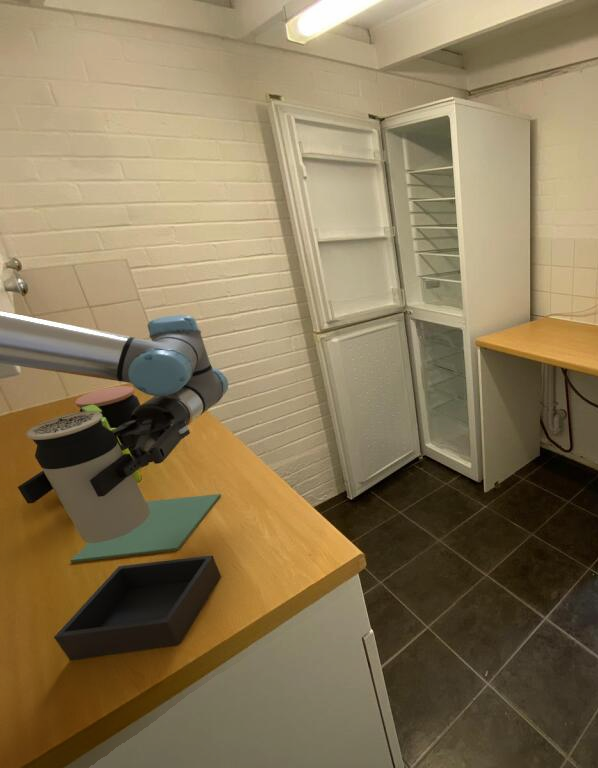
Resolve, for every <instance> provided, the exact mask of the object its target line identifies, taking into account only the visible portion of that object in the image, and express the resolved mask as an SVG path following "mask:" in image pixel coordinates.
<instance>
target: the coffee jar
mask: <svg viewBox="0 0 598 768" xmlns="http://www.w3.org/2000/svg"><path fill="white" fill-rule="evenodd" d="M74 403H75V405H76V406H77V407H78V408H80V409H79V412H84V411H83V410H82V407H85V406H89V405H92V404H93V405H95V406H97V407H98V408H99V409H101V410H102V412H101V414H102V417H105V418H106V419H107V422H108V424H109V426H110V428H118V427H119V426H121V425H123V424H124V423H127V422H129V421H130V418H131V415H132V413H133V411H134V410H135V409H136V408H137V407H138V406H140V405H141V403H140V401H139V398H138V396H136V395H135V389H134V388H133V387H132V386H128V385H120V386H119V385H117V386H112V387H107V388H103V389H98V390H94V391H92V392H88V393H86V394H83V395H82V396H81V395H80V397H78V398H77V399H75V401H74ZM135 446H136V445H133V446H131V447H129V448H128V449H129V451H130V453H131V455H132V457H133V456H134V455H133V453H132V451H131V448H132V449H133V448H135Z"/></svg>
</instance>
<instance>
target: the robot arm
mask: <svg viewBox="0 0 598 768" xmlns="http://www.w3.org/2000/svg"><path fill="white" fill-rule="evenodd" d="M147 329H148V330H147V331H148V333H149V335H148V336H149V338H150V339H151V340H149V339H145V338H144V339H143V338H139V337H133V336H130V335H124V334H120V333H114V332H109V331H104V330H99V329H94V328H88V327H84V326H79V325H74V324H69V323H63V322H59V321H54V320H48V319H44V318H38V317H34V316H29V315H22V314H19V313H18V314H17V313H13V312H8V311H3V310H0V364H4V365H9V366H16V367H24V368H29V369H35V370H42V371H49V372H54V373H55V372H56V373H63V374H70V375H75V376H83V377H88V378H94V379H102V380H103V379H104V380H110V381H115V382H116V381H117V382H122V383H127V384H131V385H132V386H133V387H134V388H135V389H137V390H138V391H140V392H142V393H144V394H146V395H149V396H153V397H151V398H149V399H148V400H146V401H145V402H143V403H142V404H140V406H138V407H137V408H136V409H135V410H134V411H133V413H132V415H131V418H130V421H129V422H127V423H124V424H123V425H121V426H119V427H118V428H116V429H113V430H111V431H112V432H113V434H114V436H115V438H116V440H117V442H118V444H119V446H120V448H121V450H122V451H123V450H125V449H127V448H129V447H131V446H133V445H136V446H135V448H133V449H132V448H131V451H132V453H133V455H134V456H133V457H131V455H130V454H124V455H123V456H121V457H120V458H119V459H117V460H116V461H115V462H113V463H112V464H111V465H109V466H108V467H107V468H105V469H104V470H103V471H101V472H100V473H99V474H97V475H96V476H95V477H93V478H92V479H91V480H90V482H91V484H92V486H93V488H94V490H95V492H96V494H97V496H98V497H101V496H105V495H106V494H107V493H108V492H110V491H111V490H112V489H113V488H115V487H116V486H117V485H118V484H119V483H121V482H122V481H123V480H124V479H125V478H127V477H128V476H130V475H132V474H133V473H134V472H135V471H137V470H138V471H139V469H140V468H144V467H146V466H147V467H148V465H149V464H150V463H153V464H155V465H156V464H157V465H158V464H161V463H163V462H165V460H166V459H167V458H168V456H169V455H170V454H171V453H172V451H173V450H174V449H175V448H176V447H177V446H178V444H180V442H181V441H182V440H183V439H184V438H185V437H188V436H189V435H191V431H190V428H189V426H190V425H191V424H192V423H193V422H194V421H196V419H198V418H199V417H200V416H202V415H203V414H204V413H205V412H206V411H208V410H209V409H211V408H212V407H213V406H215V405H216V404H217V403H219V401H221V400H222V398H223V397H224V396H225V395H226V393H227V392H228V390H229V381H228V379H227V377H226V375H224V373H222V371H221V370H219V369H217V368H216V367H213V366H212V363H211V361H210V357H209V355H208V352H207V349H206V346H205V343H204V340H203V337H202V331H201V329H200V328H199V325H198V323H197V321H196V319H195V318H194V317H193V316H191V315H188V314H177V315H168V316H162V317H158V318H154V319H152V320H150V321H148V322H147ZM104 427H106V426H104ZM106 428H107V427H106ZM117 437H118V438H117ZM118 439H119V441H120V443H121V444H122V445H120V443H119V441H118ZM17 489H18V491H19V492H20V494H21V495H22V497H23V499H24V500H25V502H26V503H27V504H35V503H36V502H38V501H39V500H40V499H42V498H43V497H44V496H46V495H48V493H50V492H51V491H54V489H53V487H52V485H51V484H50V482H49V480H48V478H47V477H46V475H45V473H44V471H43V470H42V471H40V472H39V473H37V474H35V475H34V476H32V477H30V478H29V479H27V480H26V481H25V482H23V483H21V484H19V485H18V486H17Z"/></svg>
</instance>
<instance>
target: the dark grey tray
mask: <svg viewBox="0 0 598 768" xmlns="http://www.w3.org/2000/svg"><path fill="white" fill-rule="evenodd" d="M221 578H222V574H221V572H220V569H219V567H218V564H217V563H216V560H215V557H214V555H213V554H210V555H203V556H201V555H200V556H195V557H194V556H193V557H185V558H176V559H169V560H160V561H152V562H144V563H143V562H142V563H133V564H127V565H126V564H125V565H119V566H117V568H115V570H114V571H112V573H111V574H110V575H109V577H107V579H106V580H105V581H104V582H103V583H102V584H101V585H100V586H99V587H98V589H97V590H96V591H95V592H94V593H93V594H92V595H91V596H90V597H89V598H88V599H87V601H86V602H85V603H84V604H82V606H81V607H80V608H79V609H78V610H77V611H76V612H75V613H74V615H73V616H71V618H70V619H69V620H68V621H67V622H66V623H65V624H64V626H63V627H61V629H60V630H59V631H58V632H57V633H56V634H55V635H54V636H53V638H54V640H55V641H56V642H57V644H58V645H59V647H60V648H61V650H62V652H63V653H64V654H65V656H66V657H67V658H68V660H69V661H76V660H84V659H89V658H90V659H91V658H98V657H103V656H104V657H105V656H112V655H118V654H125V653H131V652H141V651H146V650H153V649H161V648H167V647H176V646H180V644H182V641H183V640H184V638H185V636H186V635H187V633H188V632H189V630H190V628H191V627H192V625H193V624H194V622H195V620H196V619H197V617H198V615H199V614H200V613H201V611H202V609H203V607H204V605H205V604H206V602H207V601H208V599H209V597H210V596H211V594H212V592H213V591H214V590H215V587H216V586H217V584H218V583H219V581H220V579H221Z"/></svg>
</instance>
